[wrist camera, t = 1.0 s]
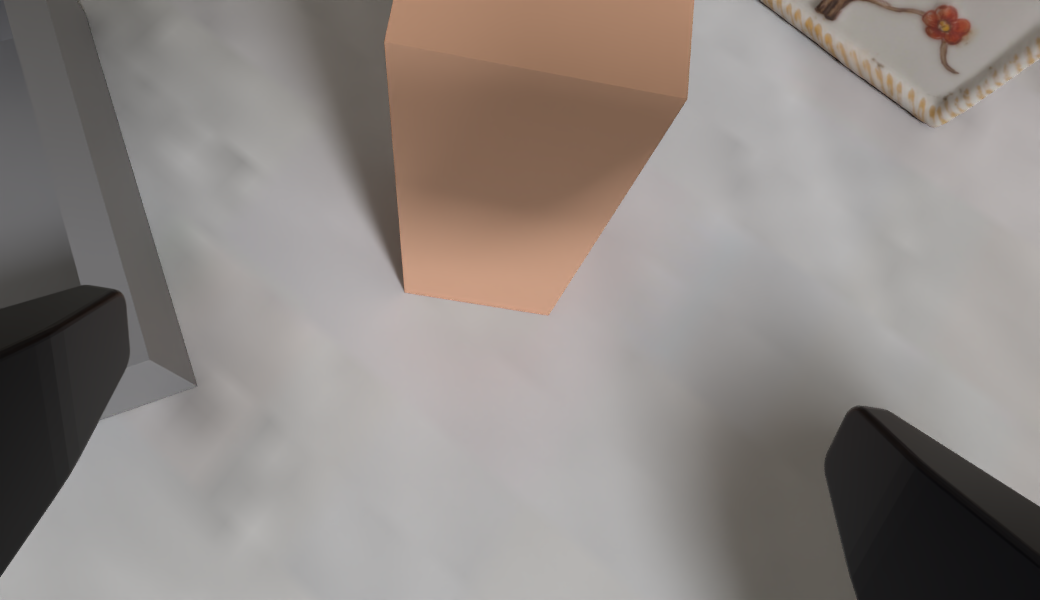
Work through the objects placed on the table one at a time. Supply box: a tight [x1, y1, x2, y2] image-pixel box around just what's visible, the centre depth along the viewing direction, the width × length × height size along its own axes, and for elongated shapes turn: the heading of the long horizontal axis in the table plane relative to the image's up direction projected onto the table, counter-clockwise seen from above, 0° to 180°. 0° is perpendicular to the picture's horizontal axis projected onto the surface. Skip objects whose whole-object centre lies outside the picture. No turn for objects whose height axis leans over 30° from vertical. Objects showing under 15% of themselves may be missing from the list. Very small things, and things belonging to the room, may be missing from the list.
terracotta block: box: [384, 0, 694, 315], centre depth 17 cm, size 4×4×12 cm
